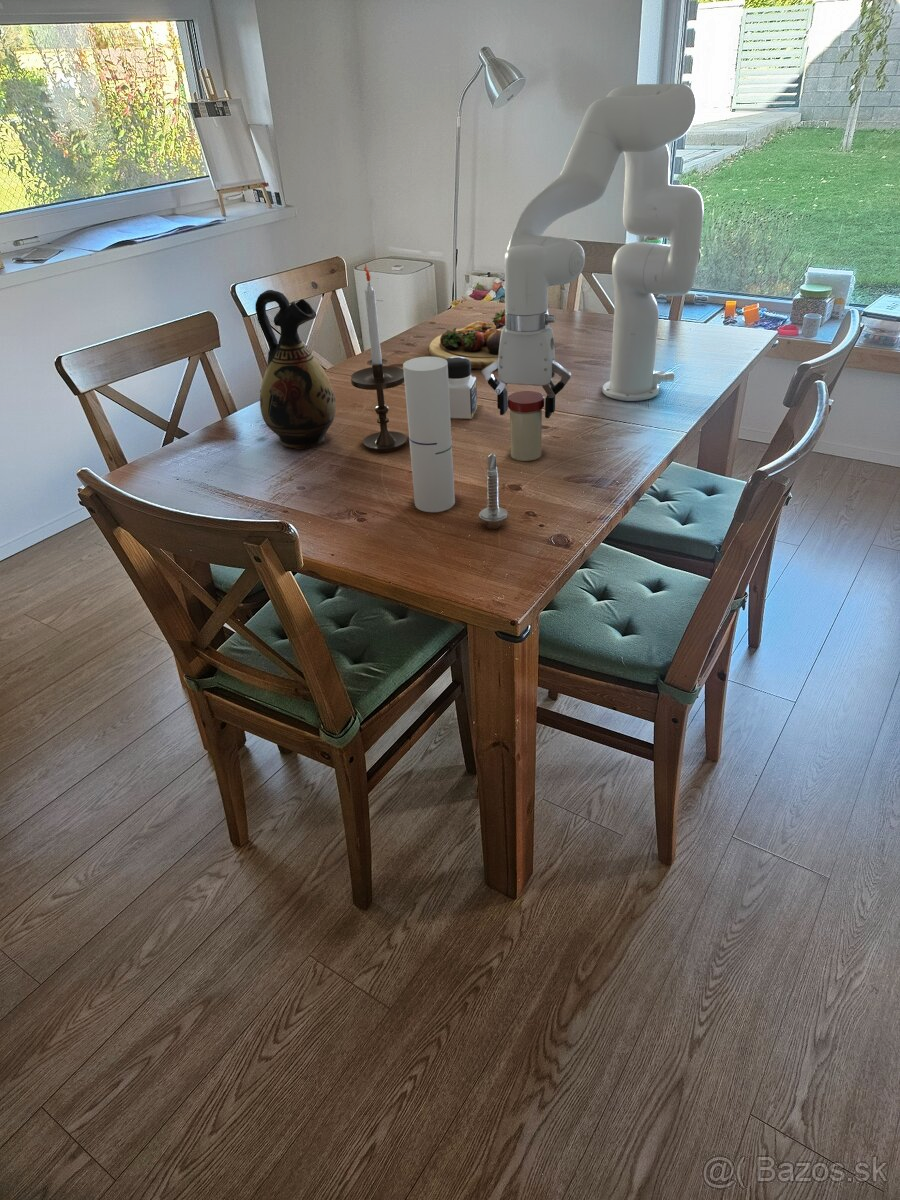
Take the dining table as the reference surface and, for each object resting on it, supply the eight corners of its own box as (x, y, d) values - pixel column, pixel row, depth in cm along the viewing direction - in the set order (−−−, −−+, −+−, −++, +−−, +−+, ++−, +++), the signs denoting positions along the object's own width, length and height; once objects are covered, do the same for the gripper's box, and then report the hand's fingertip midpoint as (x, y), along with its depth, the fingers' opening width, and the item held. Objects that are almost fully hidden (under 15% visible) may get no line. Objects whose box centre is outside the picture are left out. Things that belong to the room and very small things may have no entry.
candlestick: (352, 440, 171) (329, 262, 151) (400, 429, 174) (385, 255, 155) (368, 458, 163) (347, 273, 143) (419, 447, 166) (405, 265, 146)
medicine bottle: (471, 419, 177) (469, 364, 170) (439, 418, 178) (436, 364, 172) (477, 407, 183) (475, 354, 176) (446, 406, 184) (443, 353, 178)
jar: (536, 446, 163) (536, 393, 157) (545, 458, 158) (546, 404, 152) (507, 450, 162) (506, 397, 156) (515, 462, 158) (514, 408, 151)
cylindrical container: (413, 495, 148) (402, 358, 134) (453, 492, 148) (445, 355, 134) (415, 513, 142) (403, 372, 128) (456, 510, 142) (449, 368, 129)
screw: (513, 523, 137) (495, 535, 135) (491, 515, 140) (473, 526, 137) (513, 451, 130) (494, 462, 127) (489, 445, 133) (470, 455, 130)
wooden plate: (474, 327, 235) (473, 298, 231) (572, 342, 219) (573, 310, 214) (405, 359, 214) (402, 327, 210) (508, 378, 198) (507, 343, 193)
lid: (504, 401, 157) (504, 393, 156) (538, 398, 158) (538, 389, 157) (512, 414, 152) (512, 405, 151) (548, 410, 153) (548, 401, 152)
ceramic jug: (352, 428, 176) (334, 283, 159) (320, 458, 164) (297, 304, 147) (282, 422, 181) (258, 281, 164) (246, 450, 169) (216, 300, 152)
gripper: (578, 316, 147) (575, 410, 156) (485, 313, 151) (487, 404, 161) (570, 328, 141) (567, 424, 150) (473, 324, 146) (476, 418, 155)
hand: (526, 413), depth 156 cm, fingers open, 8 cm apart
